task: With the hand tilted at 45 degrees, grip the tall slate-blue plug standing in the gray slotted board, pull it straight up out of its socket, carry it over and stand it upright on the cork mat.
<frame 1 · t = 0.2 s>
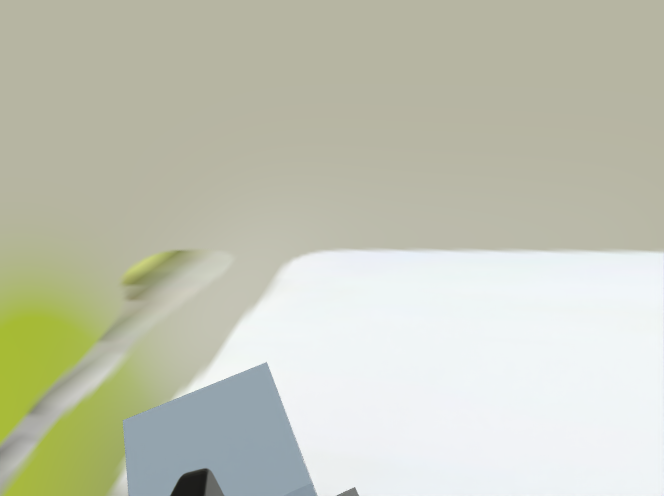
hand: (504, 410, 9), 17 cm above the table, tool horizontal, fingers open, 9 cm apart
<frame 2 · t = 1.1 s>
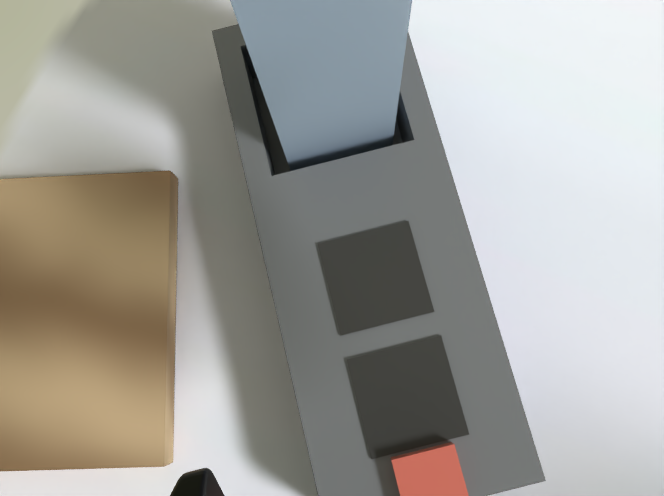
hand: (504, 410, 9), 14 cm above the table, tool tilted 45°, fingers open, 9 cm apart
cork mat: (37, 319, 24), on the table
gray slotted board: (363, 252, 23), on the table
plug: (330, 119, 24), resting on gray slotted board
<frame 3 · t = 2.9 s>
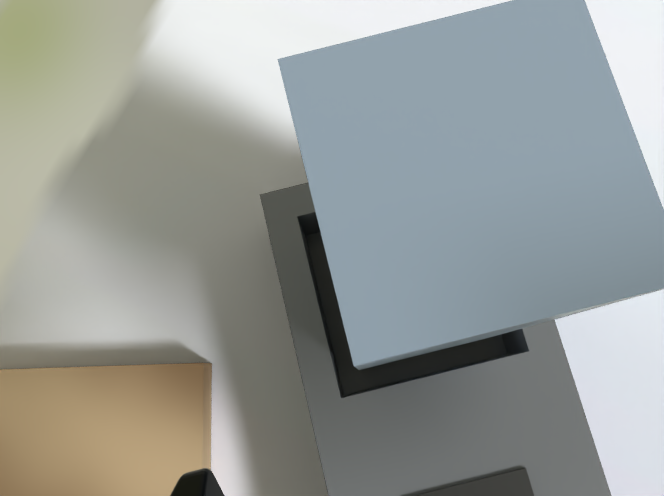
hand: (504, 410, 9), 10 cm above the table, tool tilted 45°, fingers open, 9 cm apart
gray slotted board: (449, 468, 18), on the table
plug: (404, 292, 19), resting on gray slotted board
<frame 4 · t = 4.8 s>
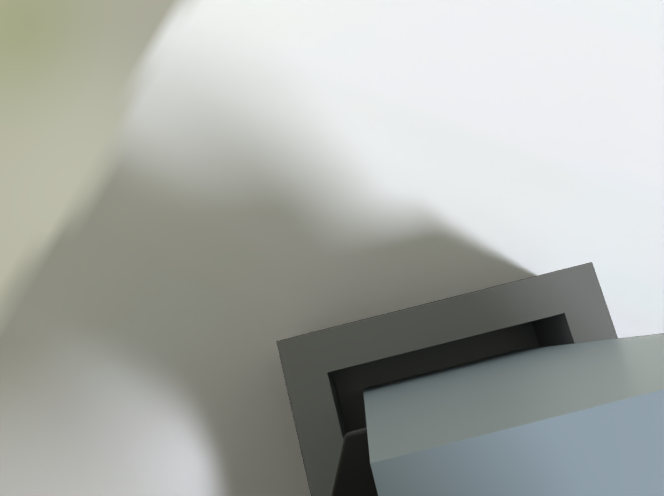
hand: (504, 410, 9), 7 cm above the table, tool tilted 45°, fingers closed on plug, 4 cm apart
plug: (462, 450, 15), resting on gray slotted board, touching gripper
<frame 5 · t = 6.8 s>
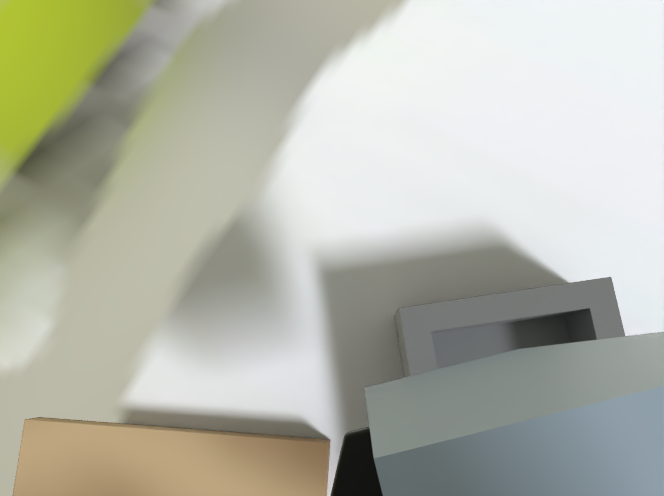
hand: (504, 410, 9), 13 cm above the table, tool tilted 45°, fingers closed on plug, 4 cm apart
plug: (463, 449, 15), point 7 cm above the table, touching gripper
when the fingers open (9 cm above the table, at t = 9.0 s): plug drops 1 cm, resting on cork mat.
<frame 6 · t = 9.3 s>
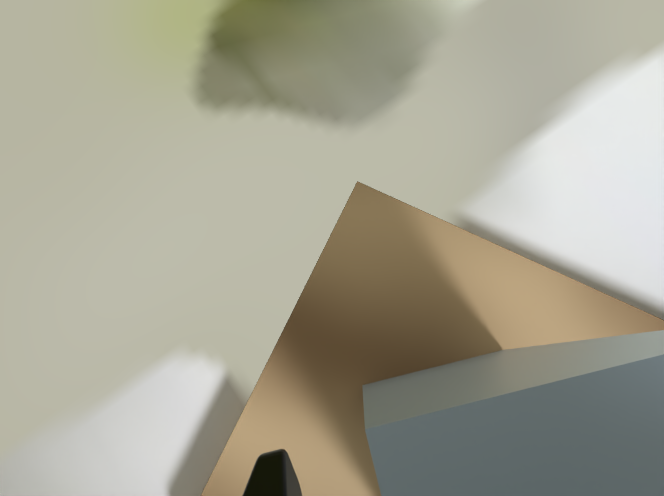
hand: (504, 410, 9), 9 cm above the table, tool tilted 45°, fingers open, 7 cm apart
cork mat: (448, 438, 17), on the table
plug: (452, 441, 16), point 1 cm above the table, touching cork mat
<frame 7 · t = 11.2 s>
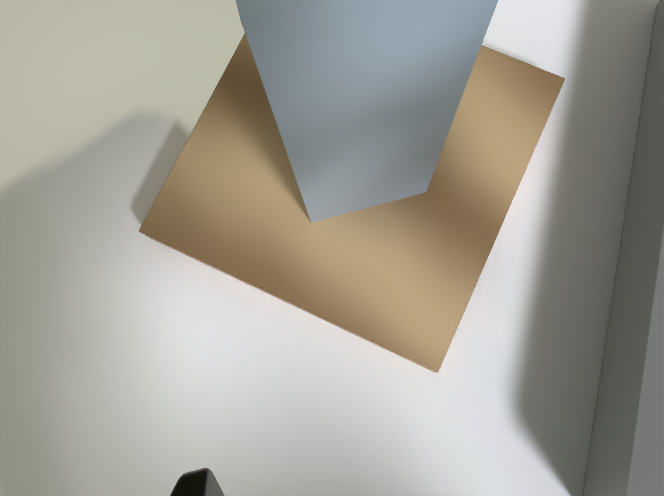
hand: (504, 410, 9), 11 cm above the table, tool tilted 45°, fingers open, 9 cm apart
cork mat: (353, 163, 22), on the table
plug: (353, 153, 21), point 1 cm above the table, touching cork mat
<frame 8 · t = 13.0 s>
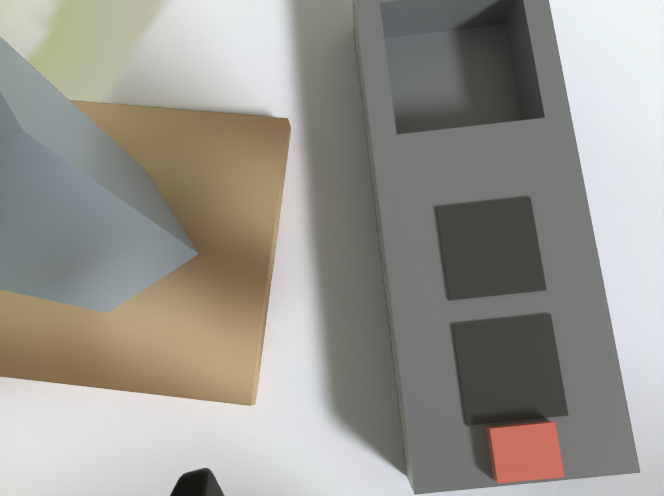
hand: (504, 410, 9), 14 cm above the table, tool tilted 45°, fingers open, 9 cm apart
cork mat: (137, 246, 24), on the table
gray slotted board: (467, 226, 23), on the table
plug: (127, 240, 23), point 1 cm above the table, touching cork mat
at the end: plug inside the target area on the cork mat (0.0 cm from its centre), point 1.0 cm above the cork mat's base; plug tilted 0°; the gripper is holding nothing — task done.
